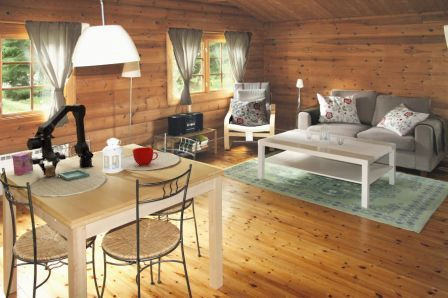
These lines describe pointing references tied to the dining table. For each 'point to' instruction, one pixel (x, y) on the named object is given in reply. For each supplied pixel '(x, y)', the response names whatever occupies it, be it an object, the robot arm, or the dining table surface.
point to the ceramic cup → (144, 155)
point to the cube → (49, 170)
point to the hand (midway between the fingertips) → (49, 173)
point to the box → (22, 163)
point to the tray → (73, 174)
